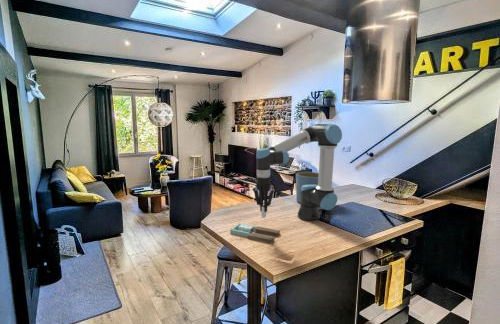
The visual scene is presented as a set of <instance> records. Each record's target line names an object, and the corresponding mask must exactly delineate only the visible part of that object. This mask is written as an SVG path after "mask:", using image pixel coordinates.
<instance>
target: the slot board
mask: <svg viewBox="0 0 500 324" xmlns="http://www.w3.org/2000/svg"><path fill="white" fill-rule="evenodd" d="M280 233H281V230H280V229H275V228H274V229H273V228H268V227H263V226H256V228H255V231H253V233H252V232H251V233H249V234H248V237H247V239H249V240H254V241H259V242H263V243H268V244H272V243H273V242H274V241H275V240H276V239H277V237H278V236H279V235H280Z"/></svg>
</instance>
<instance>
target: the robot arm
mask: <svg viewBox="0 0 500 324" xmlns="http://www.w3.org/2000/svg"><path fill="white" fill-rule="evenodd" d="M342 133H343V132H342V129H341V127H340V126H338V125H337V124H333V123H316V124H313V125H310V126H308V127H306V128H303V129H301V130H300V132H298V133H296V134H294V135H291V136H290V137H287V138H286V139H284V140H282V141H279V142H278V143H275V144H274V145H273V144H272V145H271V146H269V147H266V148H265V147H264V148H263V147H262V148H258V149H257V150H256V156H255V157H256V186H254V187H253V188H252V191H253V193H254V197H255V201H256V205H257V206H259V209H260V210H259V211H260V213H261V219H265V218H266V217H267V213H268V207H270V206H271V203H272V201H273V196H274V193H275V191H276V190H275V188H272V186H271V166H277V165H284V164H287V163H288V162H289V160H290V154H289V151H292V150H294V149H296V148H298V147H300V146H302V145H304V144H310V143H313V142H315V143H316V142H317V146H318V147H319V161H318V163H319V164H318V173H319V176H318V185H312V184H311V185H303V186H302V187H301V203H300V207H299V209H298V212H297V218H298V219H300V220H303V221H307V222H315V221H318V220H320V215H321V214H320V211H319V208H320V209H322V210H326V211H330V210H333V209H334V208H335V206H336V205H337V203H338V196H337V194H336V193H335V188H334V187H333V174H334V160H335V159H334V157H335V149H336V148H337V147H338V144H339V143H340V142H341V140H342V137H343V134H342ZM268 194H269V195H268Z"/></svg>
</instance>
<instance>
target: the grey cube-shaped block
mask: <svg viewBox="0 0 500 324" xmlns="http://www.w3.org/2000/svg"><path fill="white" fill-rule="evenodd" d="M240 224H241V225H240V226H238V230H239V231H244V228H245V227H246V226H247V225H248V224H246V225H243V224H244V223H240Z"/></svg>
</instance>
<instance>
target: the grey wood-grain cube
mask: <svg viewBox="0 0 500 324" xmlns="http://www.w3.org/2000/svg"><path fill="white" fill-rule="evenodd" d="M246 225H247V226H246V227H245V228H244V232H248V233H251V232H252V233H254V230H253V228H254V227H253V226H254V225H251V226H248V225H249V224H246Z"/></svg>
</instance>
